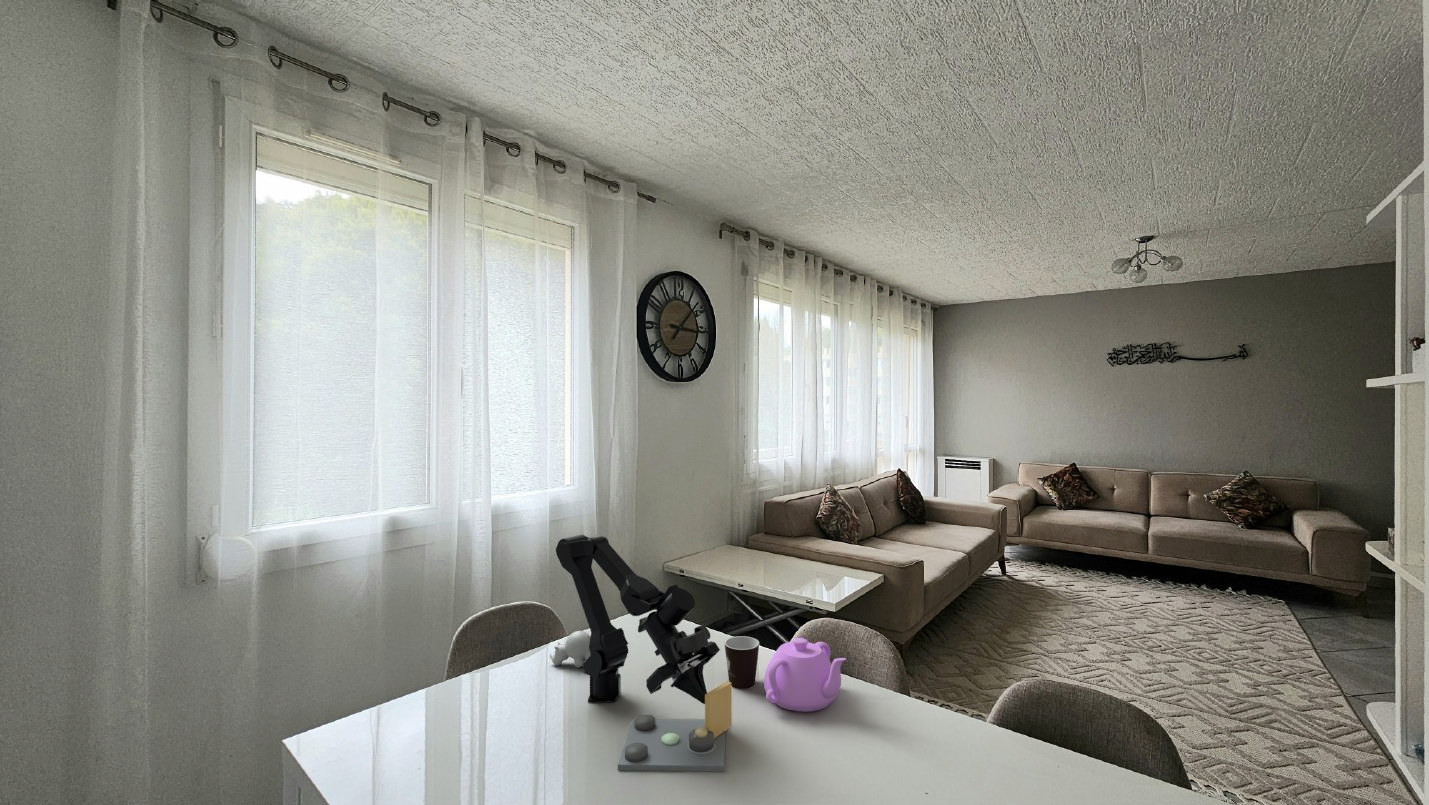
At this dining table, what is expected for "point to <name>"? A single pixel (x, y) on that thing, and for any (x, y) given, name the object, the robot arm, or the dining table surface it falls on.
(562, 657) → the round bodied animal figurine
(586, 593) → the robot arm
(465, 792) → the dining table surface
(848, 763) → the dining table surface
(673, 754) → the plate
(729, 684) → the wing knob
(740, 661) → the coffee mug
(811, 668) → the teapot
